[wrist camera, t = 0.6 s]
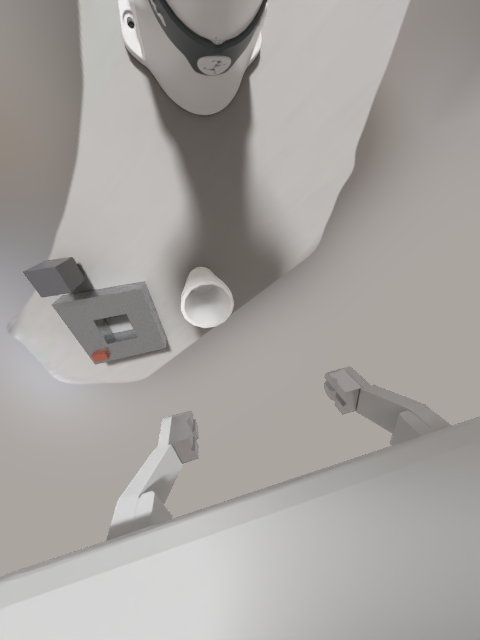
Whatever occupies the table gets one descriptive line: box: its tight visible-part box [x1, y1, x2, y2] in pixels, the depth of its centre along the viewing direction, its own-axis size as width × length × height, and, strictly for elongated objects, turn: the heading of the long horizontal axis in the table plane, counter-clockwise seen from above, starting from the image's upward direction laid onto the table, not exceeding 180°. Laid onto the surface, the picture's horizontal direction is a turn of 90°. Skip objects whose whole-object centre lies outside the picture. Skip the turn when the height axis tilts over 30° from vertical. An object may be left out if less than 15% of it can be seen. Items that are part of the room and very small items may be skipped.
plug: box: [23, 257, 85, 297], centre depth 34 cm, size 4×4×8 cm
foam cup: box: [181, 267, 234, 328], centre depth 40 cm, size 10×9×13 cm
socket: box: [52, 281, 167, 364], centre depth 43 cm, size 16×16×5 cm
